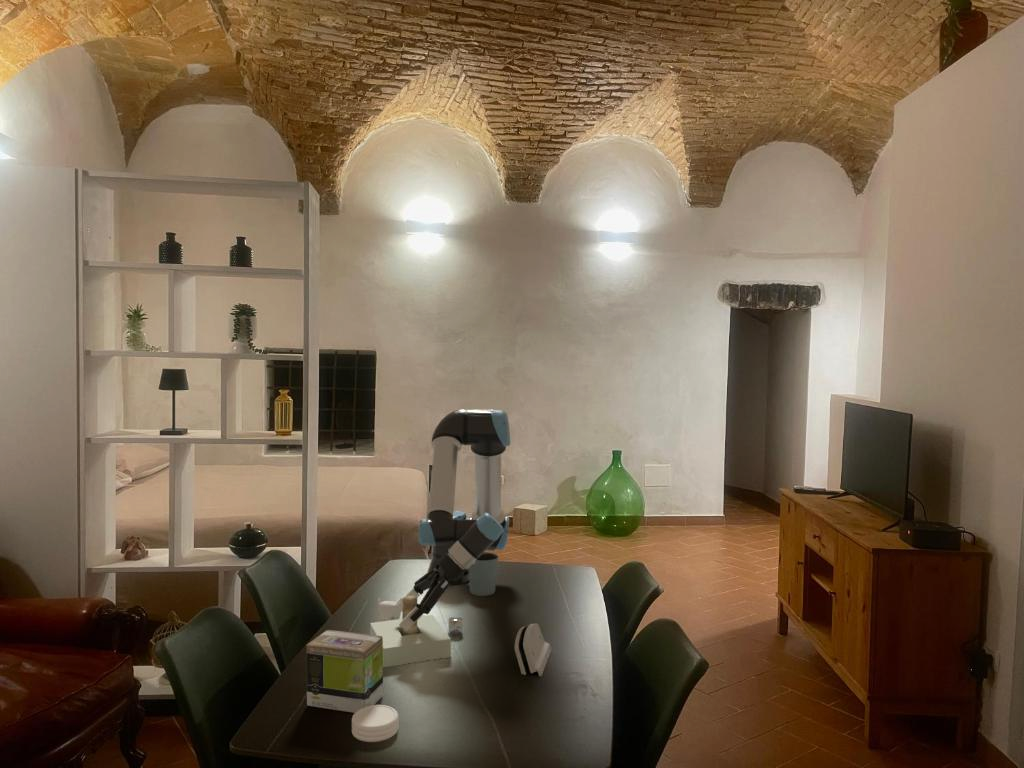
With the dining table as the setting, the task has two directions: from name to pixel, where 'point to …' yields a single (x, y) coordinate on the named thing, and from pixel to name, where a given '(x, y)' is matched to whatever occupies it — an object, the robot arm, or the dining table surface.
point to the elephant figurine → (388, 610)
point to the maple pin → (408, 606)
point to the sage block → (412, 641)
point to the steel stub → (455, 626)
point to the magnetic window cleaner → (531, 649)
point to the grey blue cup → (483, 575)
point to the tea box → (344, 670)
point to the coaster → (375, 723)
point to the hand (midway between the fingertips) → (401, 618)
